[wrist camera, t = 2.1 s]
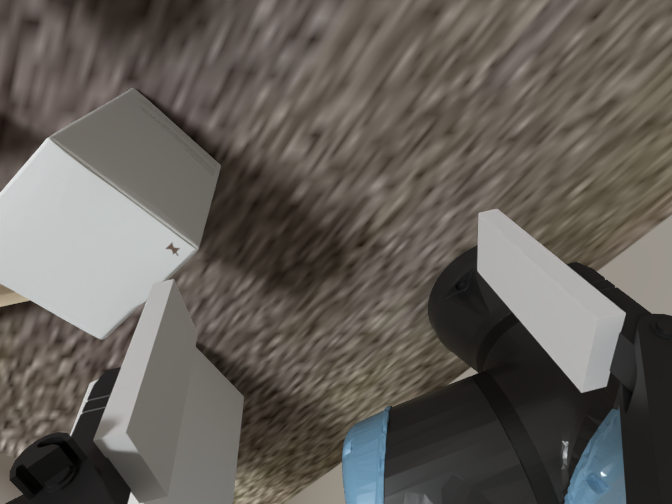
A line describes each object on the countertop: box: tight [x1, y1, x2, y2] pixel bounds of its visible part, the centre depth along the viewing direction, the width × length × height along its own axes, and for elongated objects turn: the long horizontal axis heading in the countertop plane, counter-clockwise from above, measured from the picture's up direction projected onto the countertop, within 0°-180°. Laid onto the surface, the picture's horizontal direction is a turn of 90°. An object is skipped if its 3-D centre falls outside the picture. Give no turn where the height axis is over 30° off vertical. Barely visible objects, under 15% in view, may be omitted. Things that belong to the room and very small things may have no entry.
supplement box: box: [0, 88, 221, 340], centre depth 28 cm, size 9×9×15 cm
